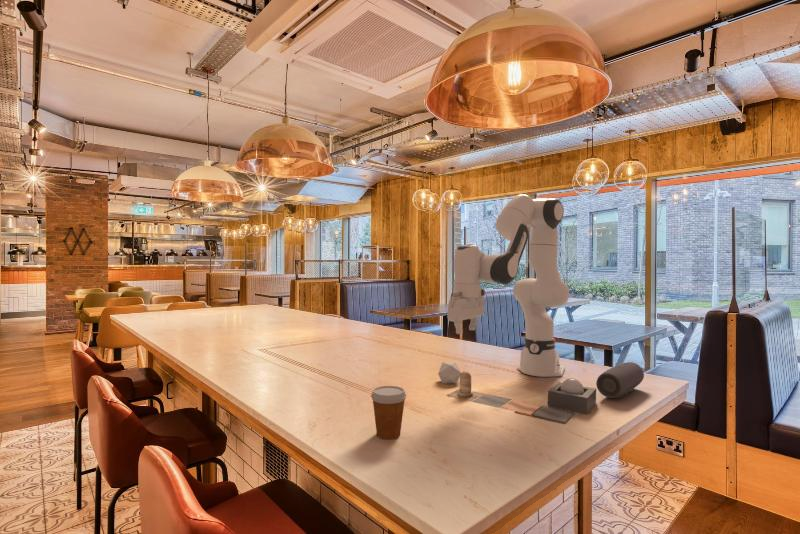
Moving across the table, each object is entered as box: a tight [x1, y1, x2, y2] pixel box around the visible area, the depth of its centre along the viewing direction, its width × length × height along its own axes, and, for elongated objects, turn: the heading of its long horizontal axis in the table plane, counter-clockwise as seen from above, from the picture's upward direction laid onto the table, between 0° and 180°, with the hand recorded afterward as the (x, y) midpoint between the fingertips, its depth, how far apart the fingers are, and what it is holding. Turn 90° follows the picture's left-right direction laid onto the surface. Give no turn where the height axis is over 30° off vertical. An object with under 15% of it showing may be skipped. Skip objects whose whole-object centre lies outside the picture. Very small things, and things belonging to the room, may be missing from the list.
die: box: [437, 361, 462, 385], centre depth 166 cm, size 8×9×10 cm
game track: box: [445, 388, 575, 425], centre depth 142 cm, size 10×40×1 cm, turn 54°
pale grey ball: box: [560, 377, 584, 395], centre depth 143 cm, size 7×7×7 cm
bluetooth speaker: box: [596, 361, 645, 399], centre depth 155 cm, size 23×9×10 cm, turn 135°
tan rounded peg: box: [457, 370, 474, 397], centre depth 151 cm, size 5×5×8 cm
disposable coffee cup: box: [370, 385, 407, 440], centre depth 118 cm, size 10×10×12 cm
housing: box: [547, 382, 597, 415], centre depth 143 cm, size 12×12×5 cm
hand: (465, 331), depth 151 cm, fingers open, 8 cm apart
